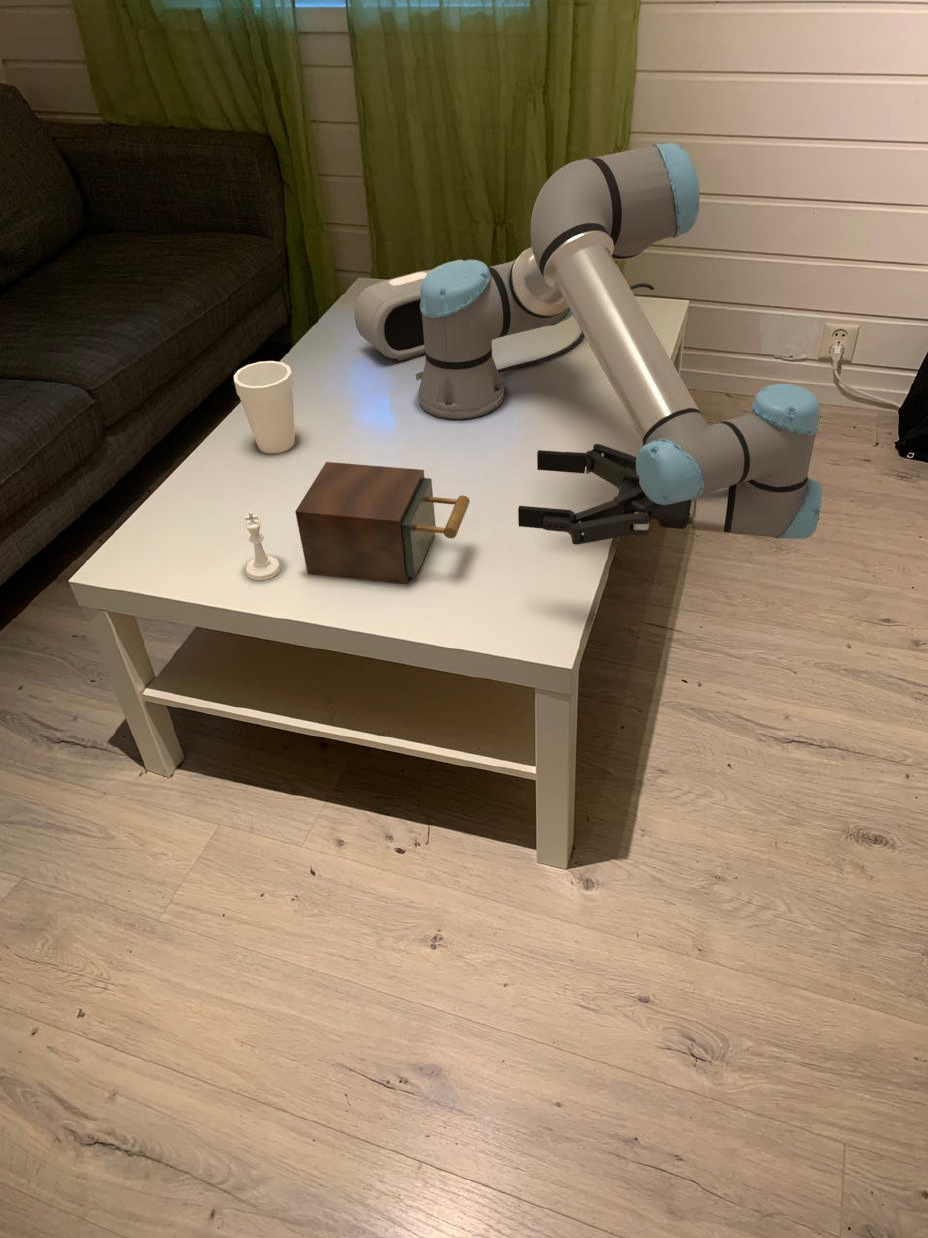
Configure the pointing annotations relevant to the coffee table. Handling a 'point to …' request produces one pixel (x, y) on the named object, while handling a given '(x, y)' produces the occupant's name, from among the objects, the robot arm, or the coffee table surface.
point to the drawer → (427, 524)
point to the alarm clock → (393, 316)
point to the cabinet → (357, 521)
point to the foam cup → (268, 403)
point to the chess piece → (259, 554)
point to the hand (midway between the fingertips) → (528, 486)
